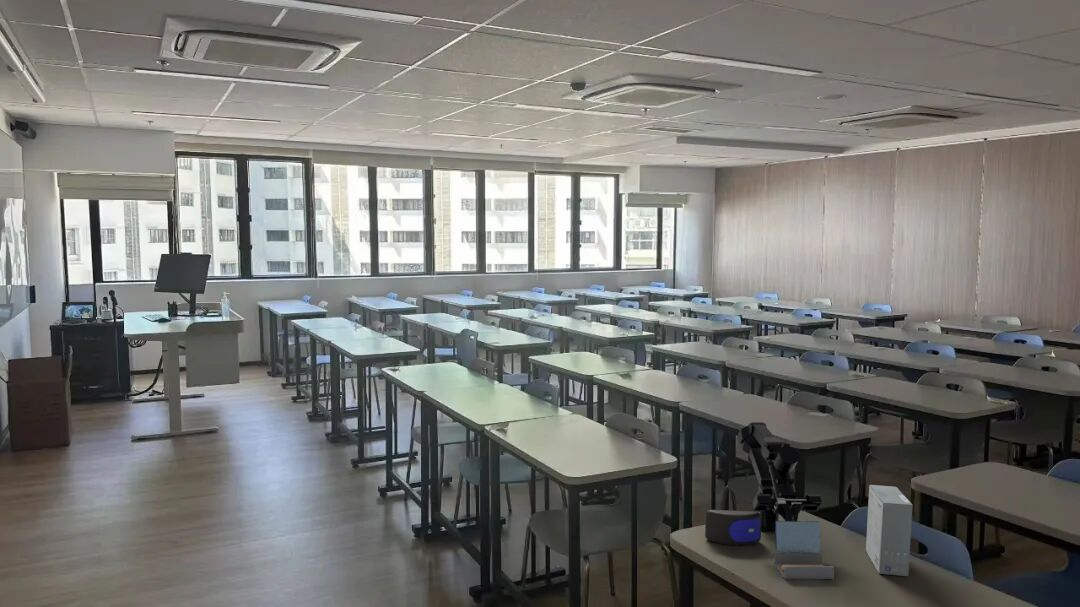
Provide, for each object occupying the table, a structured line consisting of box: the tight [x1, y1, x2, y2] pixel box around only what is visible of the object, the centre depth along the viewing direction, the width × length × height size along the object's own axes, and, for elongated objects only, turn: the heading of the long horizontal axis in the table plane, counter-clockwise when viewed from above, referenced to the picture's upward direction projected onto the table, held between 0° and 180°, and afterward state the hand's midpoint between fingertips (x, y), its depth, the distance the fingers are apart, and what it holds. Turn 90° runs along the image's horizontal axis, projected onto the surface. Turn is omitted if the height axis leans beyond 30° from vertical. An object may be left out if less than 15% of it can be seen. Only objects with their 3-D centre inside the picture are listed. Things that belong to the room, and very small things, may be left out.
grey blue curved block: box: [704, 509, 762, 546], centre depth 211 cm, size 16×5×9 cm, turn 84°
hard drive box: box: [865, 484, 914, 577], centre depth 198 cm, size 16×8×20 cm, turn 168°
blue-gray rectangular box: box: [774, 520, 821, 553], centre depth 197 cm, size 8×12×1 cm
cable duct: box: [773, 552, 835, 581], centre depth 193 cm, size 9×13×4 cm, turn 90°
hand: (793, 531), depth 200 cm, fingers closed
